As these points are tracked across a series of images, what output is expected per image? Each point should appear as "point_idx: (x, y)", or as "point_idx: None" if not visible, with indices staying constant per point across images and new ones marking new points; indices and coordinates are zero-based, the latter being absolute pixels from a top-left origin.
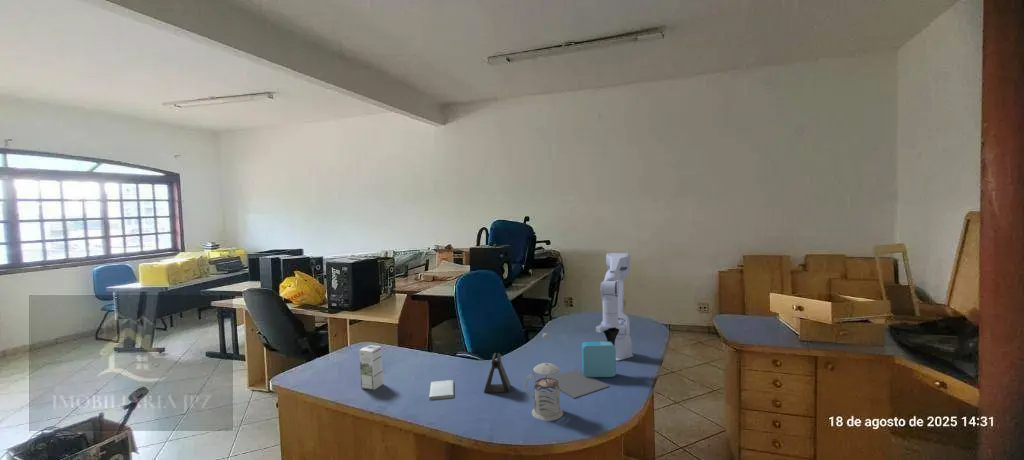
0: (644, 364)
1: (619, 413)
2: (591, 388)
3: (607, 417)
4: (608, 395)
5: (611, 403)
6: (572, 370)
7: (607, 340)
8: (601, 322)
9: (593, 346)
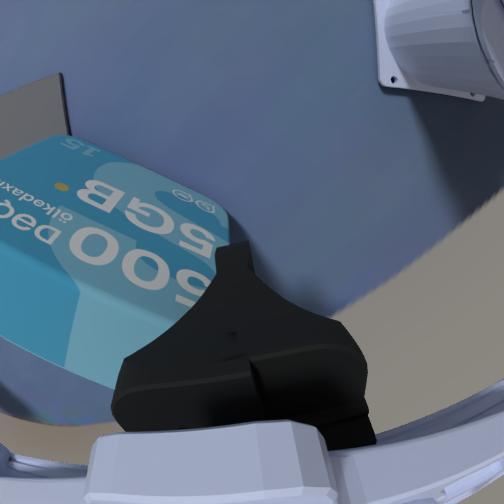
0: (441, 202)
1: (80, 410)
2: None
3: (49, 405)
4: None
5: (77, 380)
6: (34, 85)
7: (214, 279)
8: (92, 494)
9: (3, 334)
